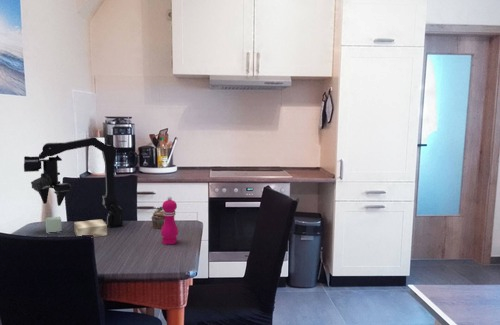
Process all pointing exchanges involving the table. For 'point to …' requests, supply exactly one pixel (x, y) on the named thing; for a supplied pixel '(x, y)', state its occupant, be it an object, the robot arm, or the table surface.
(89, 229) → the birch box
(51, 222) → the cube
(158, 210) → the cupcake
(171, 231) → the pepper mill
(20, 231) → the table surface
